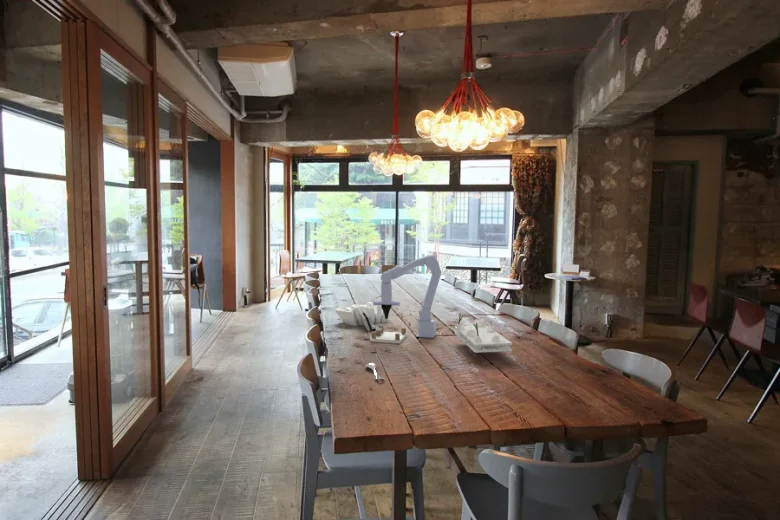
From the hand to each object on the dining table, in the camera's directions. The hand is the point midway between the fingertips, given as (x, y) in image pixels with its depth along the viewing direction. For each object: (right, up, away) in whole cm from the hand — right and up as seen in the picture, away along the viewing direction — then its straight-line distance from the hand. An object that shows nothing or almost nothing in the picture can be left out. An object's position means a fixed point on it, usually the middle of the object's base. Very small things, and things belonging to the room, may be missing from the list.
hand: (386, 318), depth 256 cm
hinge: (-11, -8, +19) cm, 23 cm away
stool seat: (+1, -10, -6) cm, 12 cm away
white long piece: (-4, -16, -62) cm, 65 cm away
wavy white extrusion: (-14, -7, +35) cm, 38 cm away
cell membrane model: (+44, -12, -30) cm, 54 cm away
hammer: (-4, -8, -1) cm, 9 cm away
